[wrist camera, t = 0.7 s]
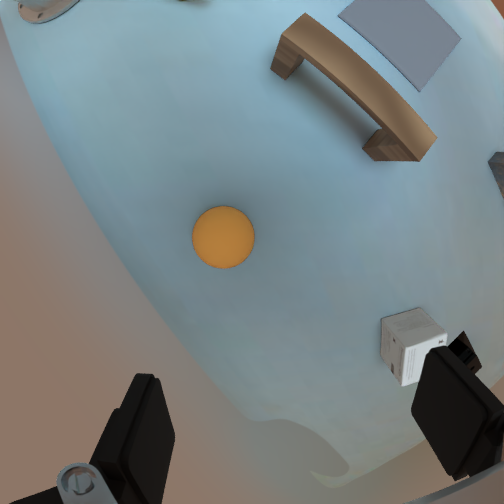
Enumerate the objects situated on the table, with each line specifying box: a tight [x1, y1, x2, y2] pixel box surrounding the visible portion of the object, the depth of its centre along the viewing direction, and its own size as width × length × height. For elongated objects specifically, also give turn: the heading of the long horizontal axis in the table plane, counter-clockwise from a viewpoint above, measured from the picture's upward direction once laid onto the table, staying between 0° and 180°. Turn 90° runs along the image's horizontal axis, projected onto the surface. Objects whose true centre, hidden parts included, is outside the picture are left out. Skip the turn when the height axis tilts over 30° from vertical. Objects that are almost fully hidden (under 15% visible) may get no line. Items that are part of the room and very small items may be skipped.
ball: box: [192, 206, 254, 268], centre depth 31 cm, size 6×6×6 cm
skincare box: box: [380, 308, 448, 386], centre depth 34 cm, size 6×6×7 cm
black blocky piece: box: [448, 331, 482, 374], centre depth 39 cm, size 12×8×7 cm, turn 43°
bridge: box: [270, 13, 437, 162], centre depth 26 cm, size 3×15×10 cm, turn 50°
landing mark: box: [338, 0, 461, 92], centre depth 27 cm, size 13×13×1 cm
